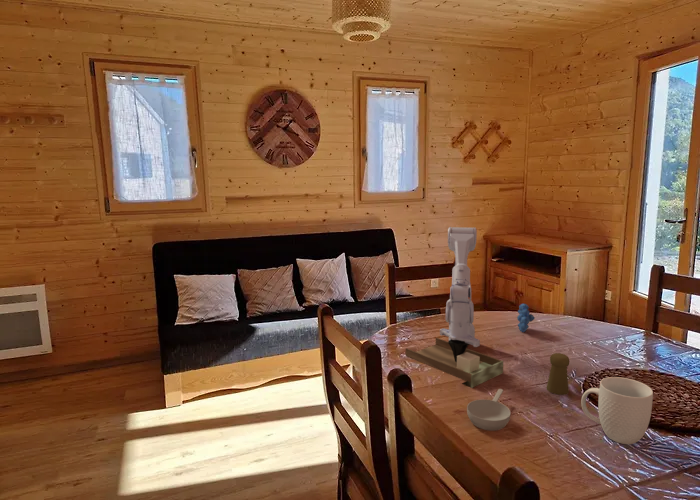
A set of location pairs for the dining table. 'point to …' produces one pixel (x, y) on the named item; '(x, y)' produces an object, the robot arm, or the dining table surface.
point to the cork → (558, 374)
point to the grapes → (524, 317)
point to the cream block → (468, 362)
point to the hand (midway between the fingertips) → (458, 361)
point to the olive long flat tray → (444, 361)
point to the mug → (622, 408)
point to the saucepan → (489, 413)
